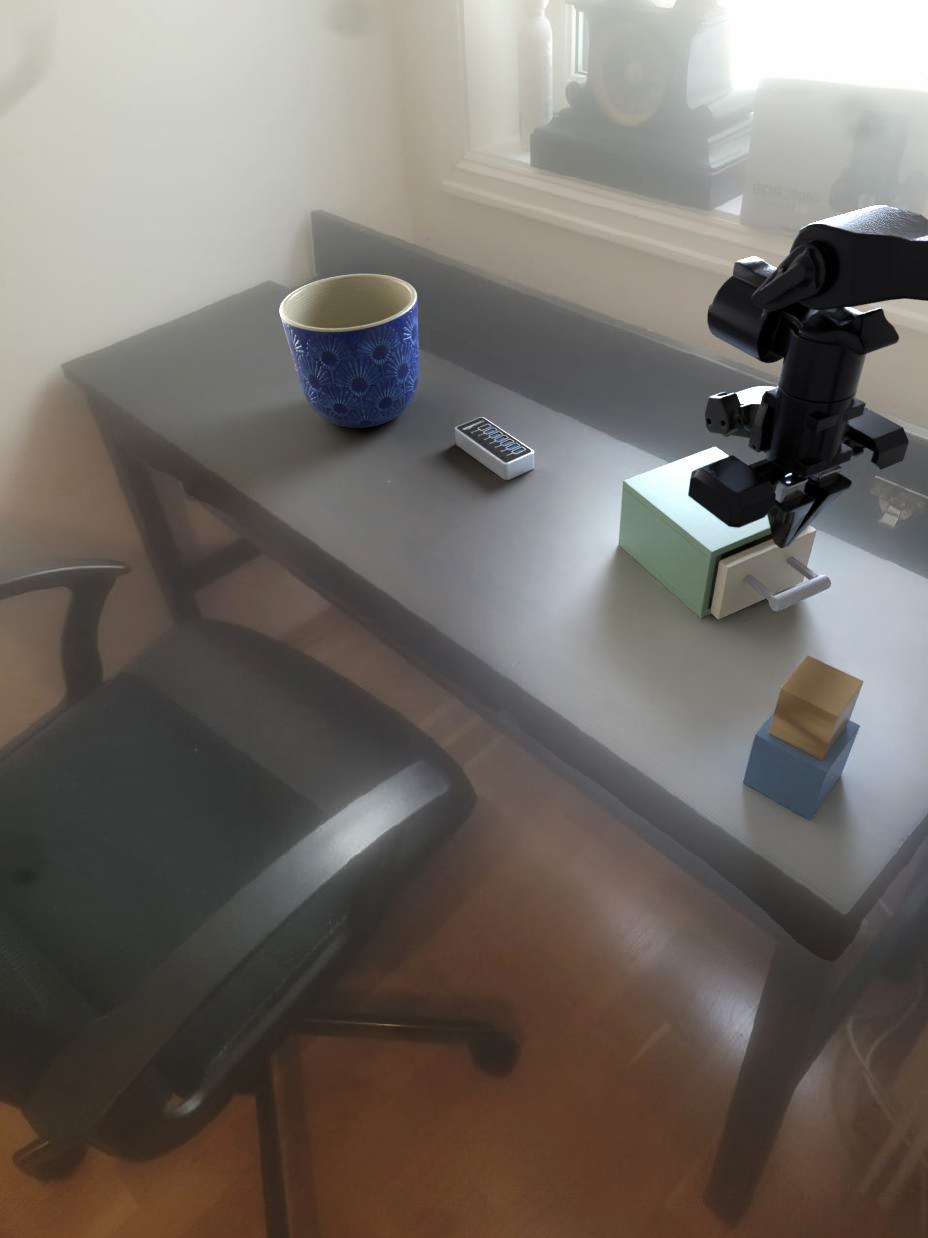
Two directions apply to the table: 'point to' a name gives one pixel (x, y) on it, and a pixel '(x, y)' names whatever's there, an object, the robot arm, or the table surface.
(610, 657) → the table surface
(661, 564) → the cabinet
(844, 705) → the block
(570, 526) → the table surface
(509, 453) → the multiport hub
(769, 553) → the drawer
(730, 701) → the table surface
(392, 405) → the planter
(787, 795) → the block
